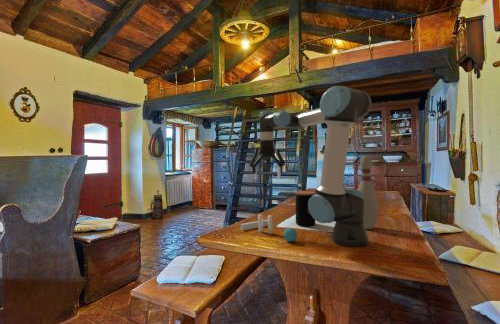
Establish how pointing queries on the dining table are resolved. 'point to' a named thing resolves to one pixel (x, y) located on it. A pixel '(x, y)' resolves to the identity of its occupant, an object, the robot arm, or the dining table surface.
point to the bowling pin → (368, 194)
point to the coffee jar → (304, 209)
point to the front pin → (270, 224)
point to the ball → (290, 234)
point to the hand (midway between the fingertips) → (267, 179)
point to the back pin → (260, 223)
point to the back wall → (253, 225)
